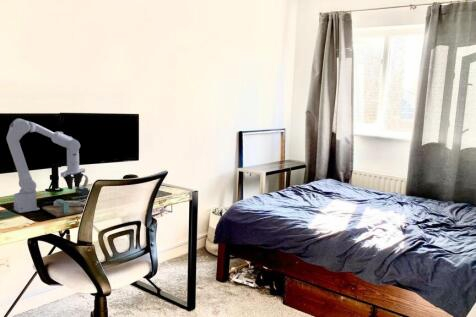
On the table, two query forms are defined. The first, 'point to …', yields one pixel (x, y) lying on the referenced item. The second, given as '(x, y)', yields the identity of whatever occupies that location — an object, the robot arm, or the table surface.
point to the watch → (82, 189)
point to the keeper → (63, 205)
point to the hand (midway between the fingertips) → (73, 188)
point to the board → (58, 210)
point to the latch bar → (73, 203)
